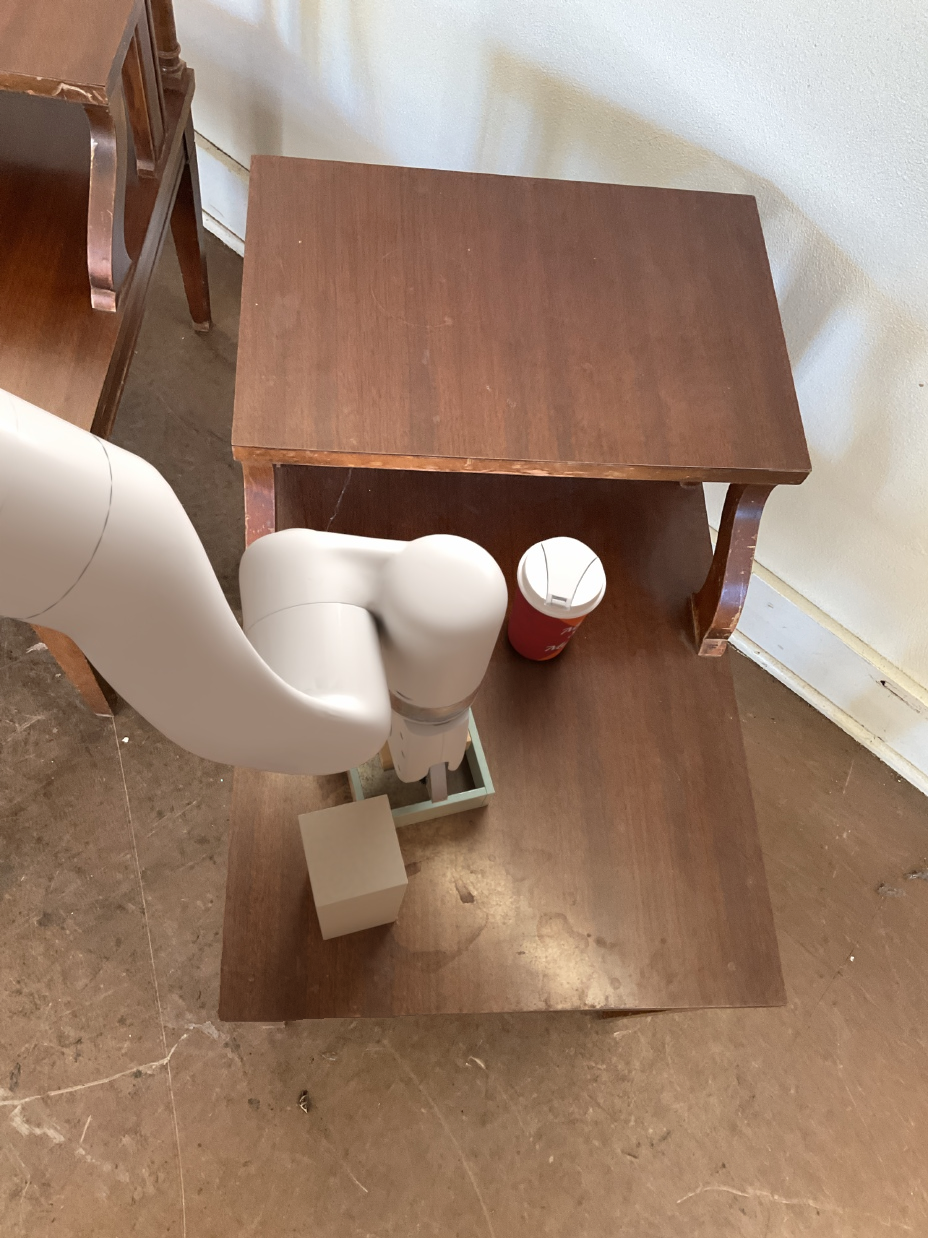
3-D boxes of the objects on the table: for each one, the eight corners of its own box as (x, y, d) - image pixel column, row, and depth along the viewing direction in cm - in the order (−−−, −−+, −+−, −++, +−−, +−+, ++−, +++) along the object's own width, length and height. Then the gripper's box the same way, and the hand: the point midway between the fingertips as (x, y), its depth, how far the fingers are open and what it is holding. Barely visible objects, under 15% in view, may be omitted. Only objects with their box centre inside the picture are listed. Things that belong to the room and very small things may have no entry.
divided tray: (361, 840, 79) (361, 825, 74) (310, 615, 88) (308, 588, 83) (486, 808, 81) (495, 792, 76) (425, 593, 90) (429, 566, 85)
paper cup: (566, 683, 87) (602, 621, 75) (488, 664, 87) (511, 598, 75) (579, 613, 91) (616, 542, 78) (504, 594, 91) (529, 520, 78)
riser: (323, 942, 75) (315, 907, 57) (309, 870, 77) (297, 815, 59) (394, 923, 76) (408, 883, 58) (378, 853, 79) (386, 793, 61)
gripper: (348, 570, 64) (349, 669, 81) (404, 795, 58) (393, 852, 74) (450, 551, 66) (431, 651, 82) (516, 768, 59) (480, 830, 76)
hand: (413, 746), depth 78 cm, fingers closed on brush, 3 cm apart
